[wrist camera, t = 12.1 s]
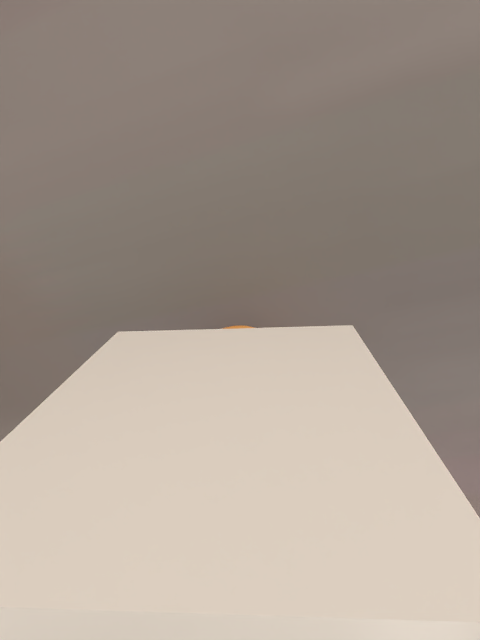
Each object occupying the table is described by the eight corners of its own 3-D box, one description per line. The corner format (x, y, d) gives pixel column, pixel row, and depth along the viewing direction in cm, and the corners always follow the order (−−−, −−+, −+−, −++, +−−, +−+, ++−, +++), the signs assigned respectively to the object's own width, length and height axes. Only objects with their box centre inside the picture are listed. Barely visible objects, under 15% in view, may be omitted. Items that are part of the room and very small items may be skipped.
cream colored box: (344, 515, 13) (451, 955, 5) (147, 513, 13) (-1, 911, 6) (352, 325, 11) (548, 624, 3) (117, 331, 11) (-171, 601, 4)
